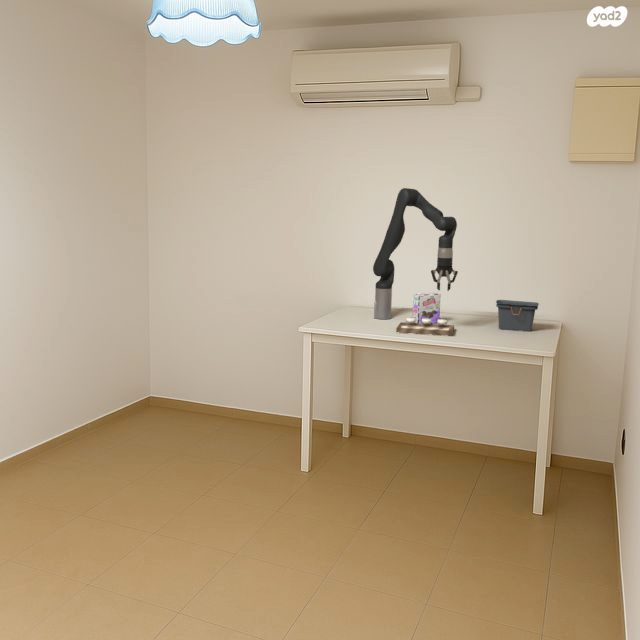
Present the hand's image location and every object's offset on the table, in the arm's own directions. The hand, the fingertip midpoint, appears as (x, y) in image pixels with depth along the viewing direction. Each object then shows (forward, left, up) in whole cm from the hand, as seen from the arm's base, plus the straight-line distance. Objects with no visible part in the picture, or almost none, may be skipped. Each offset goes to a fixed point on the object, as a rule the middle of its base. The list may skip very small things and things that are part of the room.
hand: (443, 290), depth 342 cm
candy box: (-10, +20, -22) cm, 31 cm away
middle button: (-8, 0, -17) cm, 19 cm away
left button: (-16, 0, -17) cm, 24 cm away
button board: (-8, -3, -21) cm, 23 cm away
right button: (0, 0, -17) cm, 17 cm away
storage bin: (+37, +16, -22) cm, 46 cm away
